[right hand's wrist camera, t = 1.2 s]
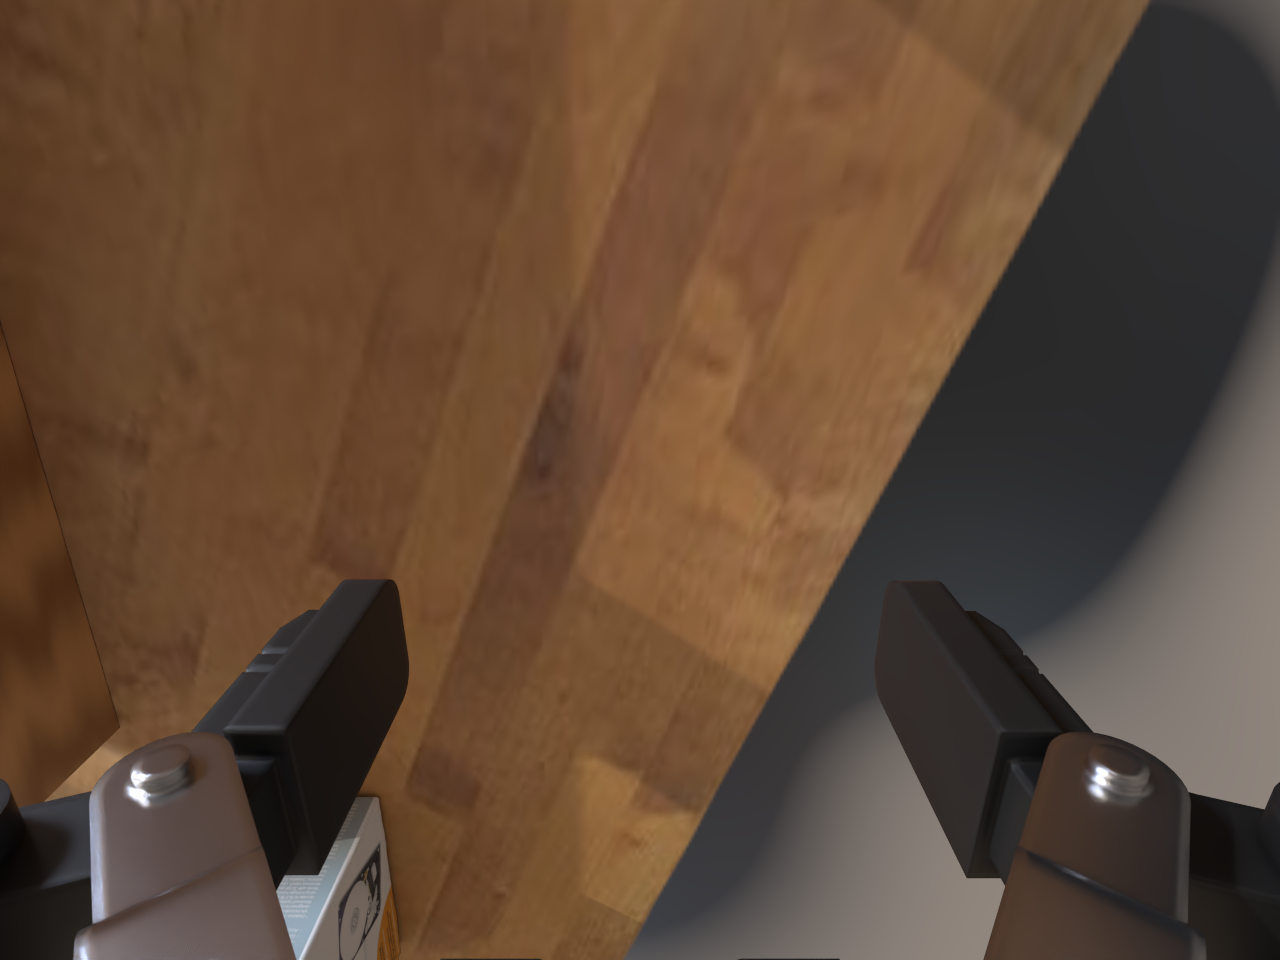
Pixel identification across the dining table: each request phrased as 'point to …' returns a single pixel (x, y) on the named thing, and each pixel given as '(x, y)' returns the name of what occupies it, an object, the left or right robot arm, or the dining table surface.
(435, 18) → the dining table surface
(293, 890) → the hard drive box
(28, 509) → the beam
